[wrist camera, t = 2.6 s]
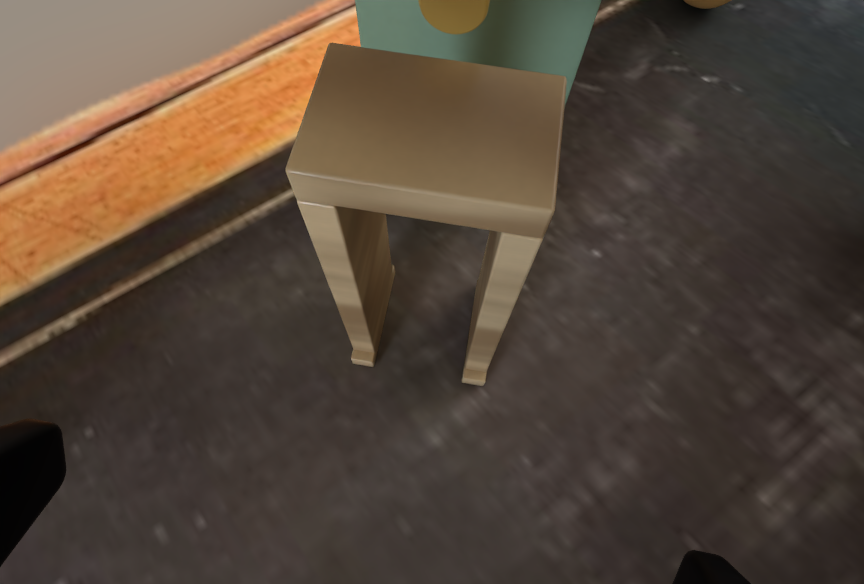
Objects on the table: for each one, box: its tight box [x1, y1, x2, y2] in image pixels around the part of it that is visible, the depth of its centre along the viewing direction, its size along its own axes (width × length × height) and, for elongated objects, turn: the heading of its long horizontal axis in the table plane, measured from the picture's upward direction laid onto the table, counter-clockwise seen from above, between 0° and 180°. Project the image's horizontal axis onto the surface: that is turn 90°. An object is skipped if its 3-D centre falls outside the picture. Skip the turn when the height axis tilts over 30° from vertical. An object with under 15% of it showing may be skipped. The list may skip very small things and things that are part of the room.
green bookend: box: [355, 0, 601, 108], centre depth 18 cm, size 8×8×16 cm
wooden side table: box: [286, 43, 567, 386], centre depth 17 cm, size 4×5×12 cm
